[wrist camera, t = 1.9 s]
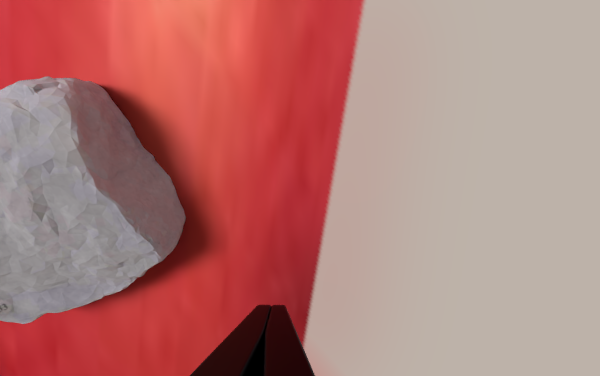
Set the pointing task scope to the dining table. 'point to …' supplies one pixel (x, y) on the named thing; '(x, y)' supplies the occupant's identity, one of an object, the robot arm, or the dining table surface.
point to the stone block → (75, 199)
